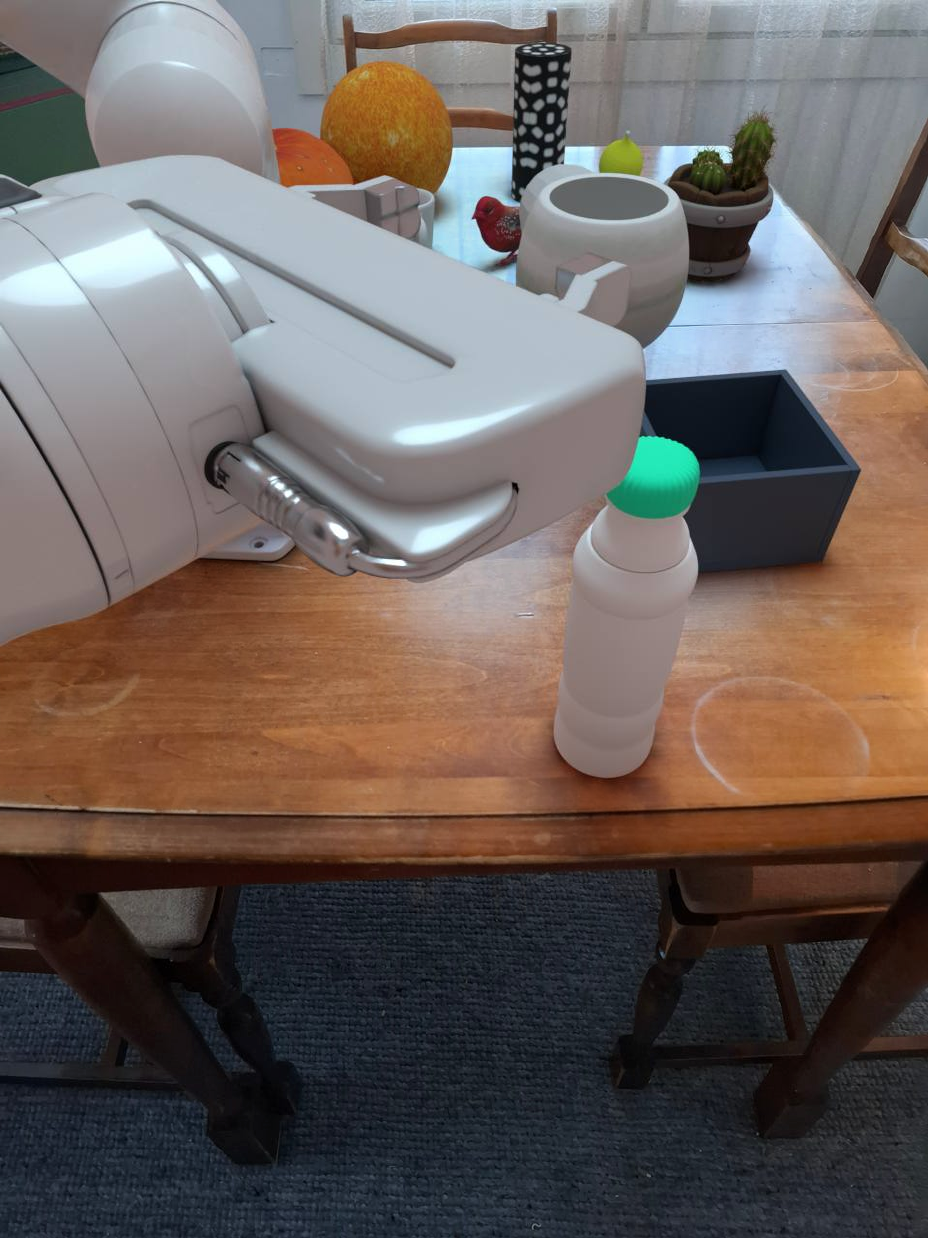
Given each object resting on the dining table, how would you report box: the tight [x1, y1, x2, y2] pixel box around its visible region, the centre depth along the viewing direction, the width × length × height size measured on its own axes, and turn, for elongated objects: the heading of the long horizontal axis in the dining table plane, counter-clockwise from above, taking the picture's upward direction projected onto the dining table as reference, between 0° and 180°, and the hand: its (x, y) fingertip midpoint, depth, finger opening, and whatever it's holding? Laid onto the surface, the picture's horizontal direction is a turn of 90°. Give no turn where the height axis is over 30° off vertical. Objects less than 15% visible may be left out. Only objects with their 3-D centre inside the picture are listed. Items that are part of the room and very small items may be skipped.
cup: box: [409, 188, 436, 250], centre depth 112 cm, size 11×8×8 cm
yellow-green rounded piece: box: [598, 128, 644, 177], centre depth 130 cm, size 7×7×10 cm
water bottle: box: [553, 436, 700, 779], centre depth 49 cm, size 7×7×25 cm
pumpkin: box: [272, 127, 354, 188], centre depth 101 cm, size 23×23×20 cm
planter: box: [515, 172, 689, 350], centre depth 79 cm, size 16×16×22 cm
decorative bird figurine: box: [470, 195, 522, 267], centre depth 111 cm, size 3×18×10 cm, turn 132°
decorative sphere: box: [319, 60, 454, 196], centre depth 121 cm, size 20×20×20 cm
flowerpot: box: [662, 103, 782, 284], centre depth 105 cm, size 14×15×20 cm
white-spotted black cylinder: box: [511, 42, 573, 203], centre depth 124 cm, size 8×8×20 cm
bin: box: [639, 368, 862, 574], centre depth 72 cm, size 16×16×10 cm
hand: (500, 240), depth 27 cm, fingers open, 8 cm apart
